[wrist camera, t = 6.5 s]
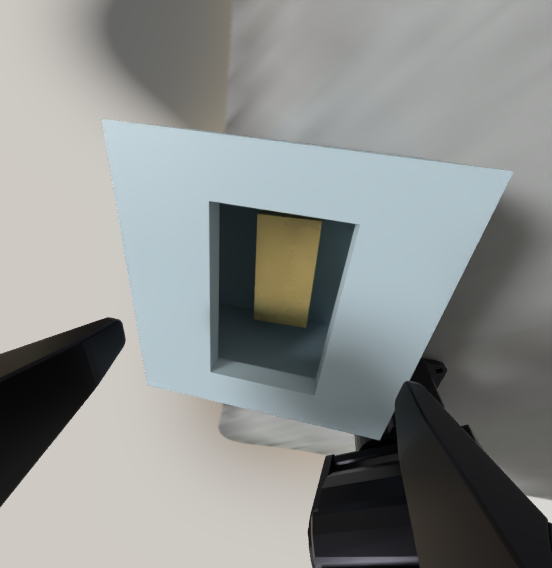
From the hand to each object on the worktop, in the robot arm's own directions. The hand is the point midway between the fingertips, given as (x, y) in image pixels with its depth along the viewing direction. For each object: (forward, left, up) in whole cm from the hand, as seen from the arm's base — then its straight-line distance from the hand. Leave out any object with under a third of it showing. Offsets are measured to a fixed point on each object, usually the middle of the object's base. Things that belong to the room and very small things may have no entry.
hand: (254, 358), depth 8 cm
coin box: (0, 0, -10) cm, 10 cm away
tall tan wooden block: (0, 0, -10) cm, 10 cm away
